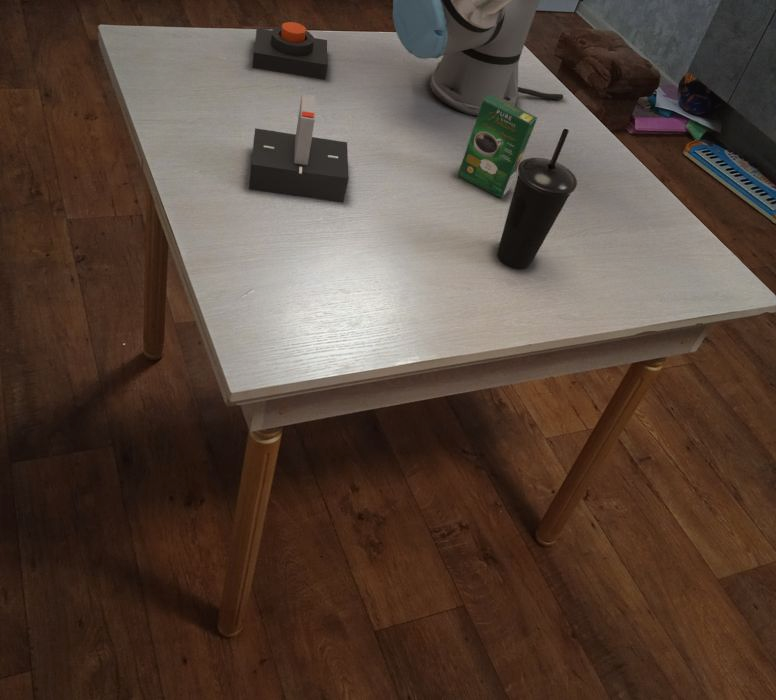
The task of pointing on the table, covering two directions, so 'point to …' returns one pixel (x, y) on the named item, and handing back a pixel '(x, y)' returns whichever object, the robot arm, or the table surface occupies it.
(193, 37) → the table surface
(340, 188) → the panel
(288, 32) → the button
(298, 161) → the grey upright slab
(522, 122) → the coffee box
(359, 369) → the table surface
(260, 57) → the button block
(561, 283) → the table surface
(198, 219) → the table surface
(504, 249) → the drinking cup
